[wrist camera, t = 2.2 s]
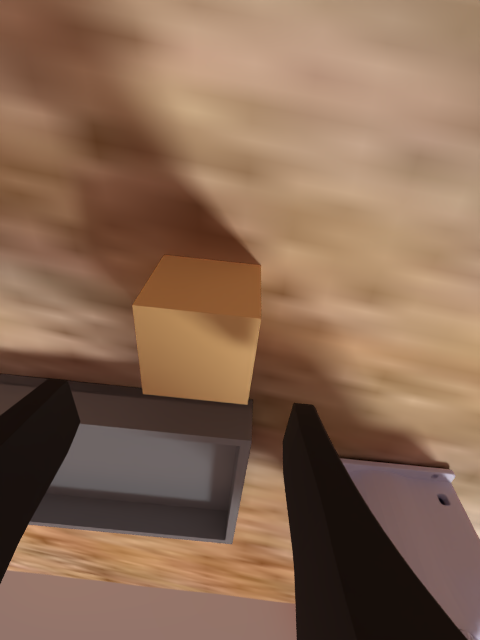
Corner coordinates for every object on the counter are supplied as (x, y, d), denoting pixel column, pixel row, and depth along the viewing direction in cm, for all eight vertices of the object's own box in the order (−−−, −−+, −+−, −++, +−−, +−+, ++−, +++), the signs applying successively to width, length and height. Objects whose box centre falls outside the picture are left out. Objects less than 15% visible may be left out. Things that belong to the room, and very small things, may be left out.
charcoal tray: (252, 399, 20) (251, 441, 18) (234, 505, 28) (232, 544, 26) (-62, 367, 20) (-108, 404, 17) (9, 483, 28) (-15, 520, 25)
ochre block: (260, 264, 15) (261, 318, 11) (250, 339, 18) (247, 404, 14) (164, 254, 15) (132, 305, 11) (168, 331, 18) (142, 394, 14)
